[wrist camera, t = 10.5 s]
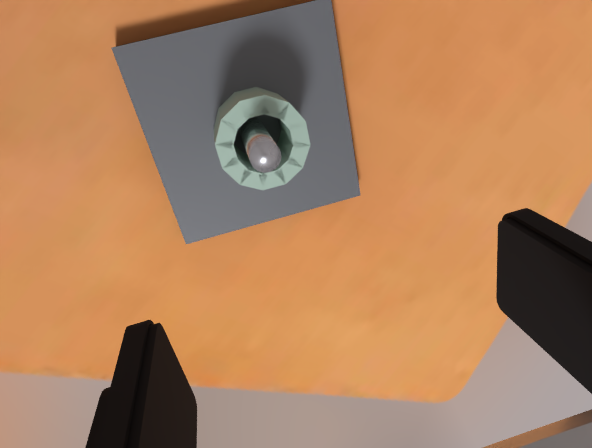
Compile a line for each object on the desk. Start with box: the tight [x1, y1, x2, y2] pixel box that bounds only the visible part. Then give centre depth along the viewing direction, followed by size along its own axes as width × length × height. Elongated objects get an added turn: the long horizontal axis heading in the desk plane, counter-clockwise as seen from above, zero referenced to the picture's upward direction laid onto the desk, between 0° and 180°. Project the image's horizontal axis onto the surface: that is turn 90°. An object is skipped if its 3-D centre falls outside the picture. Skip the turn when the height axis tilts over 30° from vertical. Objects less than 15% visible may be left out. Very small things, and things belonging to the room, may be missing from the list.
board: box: [112, 0, 360, 244], centre depth 33 cm, size 16×16×2 cm
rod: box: [240, 118, 281, 173], centre depth 29 cm, size 2×2×8 cm
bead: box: [213, 87, 310, 190], centre depth 30 cm, size 6×6×5 cm
